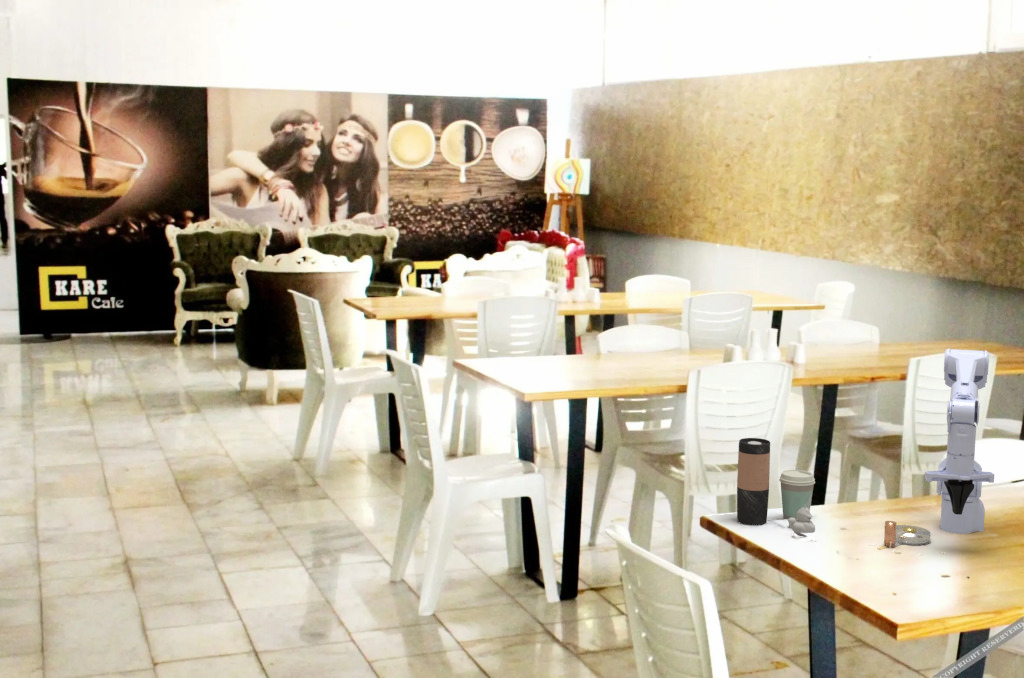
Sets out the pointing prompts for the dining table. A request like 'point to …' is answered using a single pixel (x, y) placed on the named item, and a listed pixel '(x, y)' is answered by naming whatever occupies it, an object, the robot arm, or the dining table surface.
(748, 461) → the travel mug
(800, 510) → the grey animal figurine
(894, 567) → the dining table surface
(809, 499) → the coffee cup
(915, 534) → the dial
